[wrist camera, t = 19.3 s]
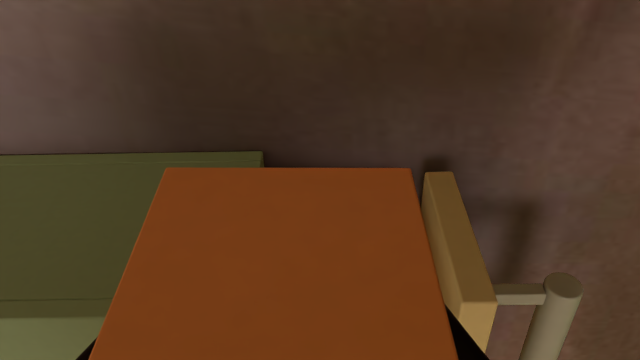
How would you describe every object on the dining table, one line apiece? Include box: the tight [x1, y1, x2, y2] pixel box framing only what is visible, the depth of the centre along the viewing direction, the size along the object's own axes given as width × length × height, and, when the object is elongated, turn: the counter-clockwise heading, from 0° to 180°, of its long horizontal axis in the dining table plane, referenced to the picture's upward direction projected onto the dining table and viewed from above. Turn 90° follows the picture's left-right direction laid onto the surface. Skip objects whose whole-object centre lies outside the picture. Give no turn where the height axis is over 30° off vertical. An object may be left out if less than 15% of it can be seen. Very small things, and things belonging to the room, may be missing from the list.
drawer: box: [421, 172, 584, 360], centre depth 23 cm, size 16×10×7 cm, turn 91°
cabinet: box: [0, 151, 264, 360], centre depth 23 cm, size 13×12×9 cm
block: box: [88, 167, 458, 360], centre depth 9 cm, size 4×4×4 cm
